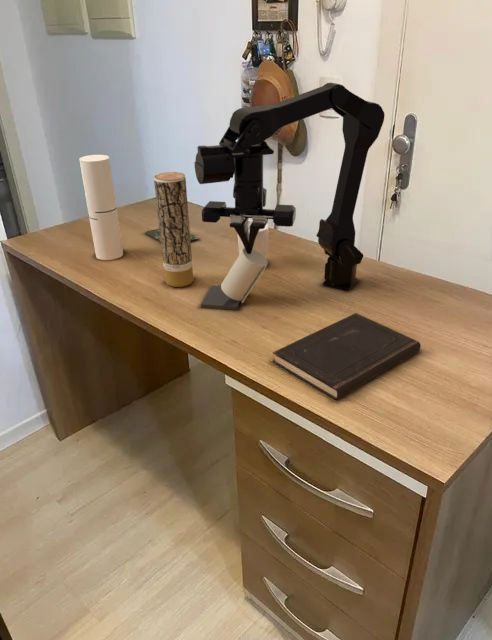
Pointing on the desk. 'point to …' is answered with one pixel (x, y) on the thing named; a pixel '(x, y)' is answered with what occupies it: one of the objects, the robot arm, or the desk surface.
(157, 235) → the eiffel tower figurine
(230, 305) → the slate coaster
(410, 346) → the hardcover book
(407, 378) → the desk surface
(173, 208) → the brown bark cylinder
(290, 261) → the desk surface
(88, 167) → the cylindrical container
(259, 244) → the white cup
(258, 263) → the cylinder
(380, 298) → the desk surface
